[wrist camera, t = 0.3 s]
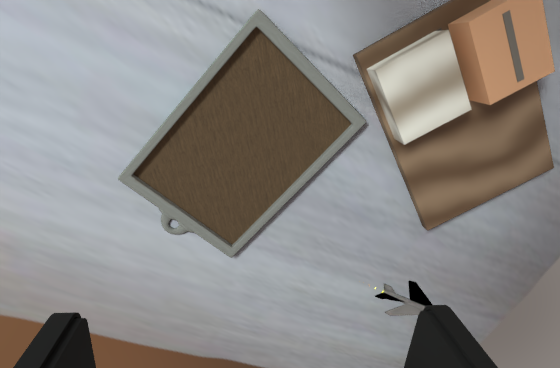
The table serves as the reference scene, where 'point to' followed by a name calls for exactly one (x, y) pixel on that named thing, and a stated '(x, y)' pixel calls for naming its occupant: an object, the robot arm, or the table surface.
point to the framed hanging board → (242, 139)
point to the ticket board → (465, 137)
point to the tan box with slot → (502, 48)
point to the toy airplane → (406, 300)
